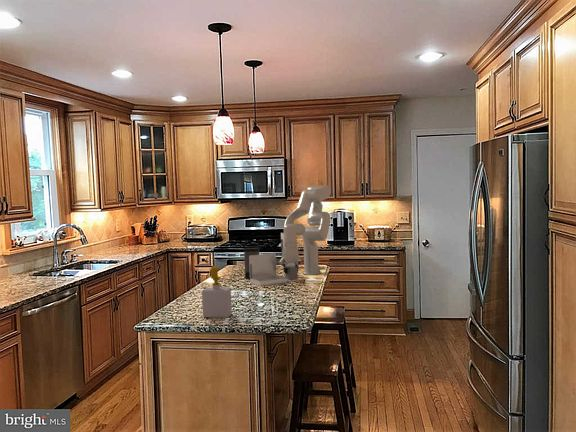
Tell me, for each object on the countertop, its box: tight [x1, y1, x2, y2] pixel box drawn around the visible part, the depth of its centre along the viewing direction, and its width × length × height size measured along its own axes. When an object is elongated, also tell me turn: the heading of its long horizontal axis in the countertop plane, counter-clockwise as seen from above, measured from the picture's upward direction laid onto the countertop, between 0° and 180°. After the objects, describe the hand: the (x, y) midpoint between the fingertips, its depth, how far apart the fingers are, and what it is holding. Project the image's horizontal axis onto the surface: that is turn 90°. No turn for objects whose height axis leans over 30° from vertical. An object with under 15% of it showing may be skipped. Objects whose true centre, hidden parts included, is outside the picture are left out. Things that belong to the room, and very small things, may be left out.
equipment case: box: [249, 252, 288, 287], centre depth 301 cm, size 18×14×17 cm
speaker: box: [280, 231, 295, 269], centre depth 356 cm, size 11×10×26 cm
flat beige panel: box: [287, 277, 304, 283], centre depth 309 cm, size 10×12×1 cm
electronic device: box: [243, 247, 260, 280], centre depth 316 cm, size 9×6×20 cm, turn 84°
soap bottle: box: [201, 265, 233, 319], centre depth 227 cm, size 12×7×23 cm, turn 80°
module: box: [284, 265, 299, 280], centre depth 308 cm, size 5×7×8 cm
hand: (291, 272), depth 308 cm, fingers open, 6 cm apart
